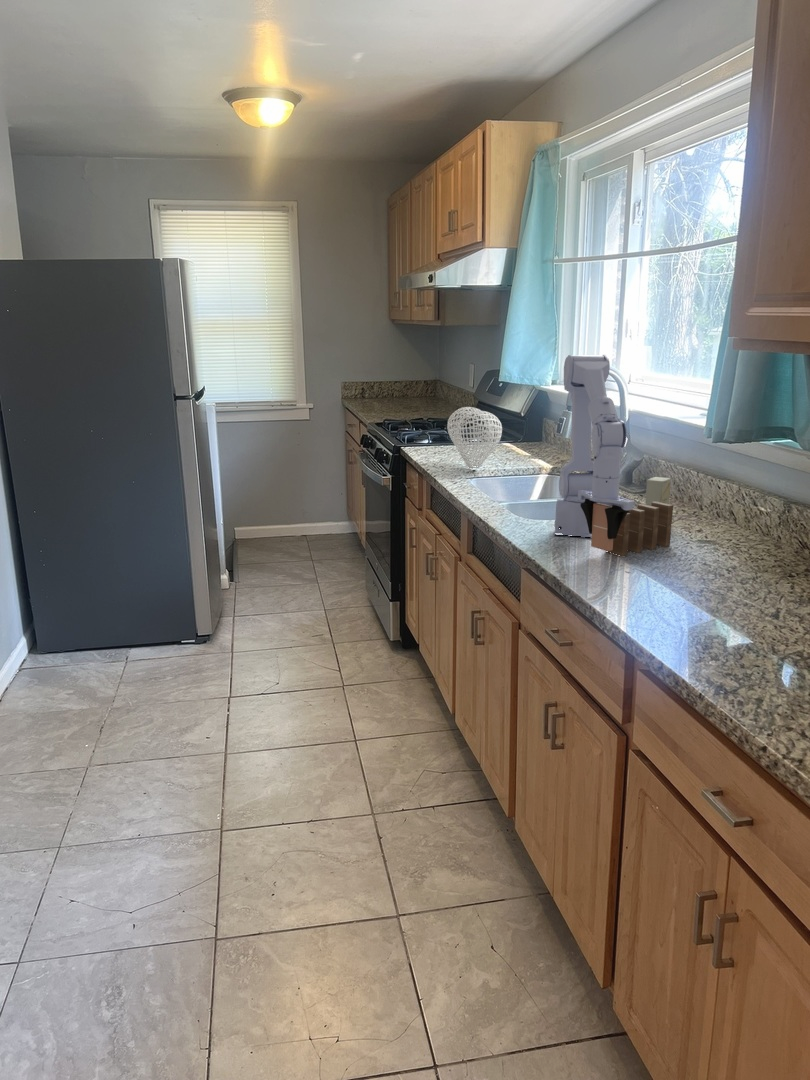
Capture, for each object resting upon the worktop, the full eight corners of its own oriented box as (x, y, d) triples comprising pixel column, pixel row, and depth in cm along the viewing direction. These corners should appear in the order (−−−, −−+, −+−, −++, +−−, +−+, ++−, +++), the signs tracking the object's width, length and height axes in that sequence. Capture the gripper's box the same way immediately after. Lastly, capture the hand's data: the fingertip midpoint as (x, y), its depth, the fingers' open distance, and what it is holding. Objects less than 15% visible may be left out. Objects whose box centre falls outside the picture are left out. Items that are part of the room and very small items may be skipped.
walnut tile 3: (637, 553, 184) (640, 511, 181) (620, 548, 188) (623, 507, 185) (641, 552, 185) (645, 510, 182) (625, 547, 189) (627, 506, 186)
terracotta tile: (607, 551, 178) (610, 507, 175) (590, 546, 182) (593, 503, 179) (612, 550, 179) (615, 506, 176) (595, 545, 183) (598, 502, 180)
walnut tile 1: (665, 547, 189) (668, 505, 186) (648, 542, 193) (651, 502, 190) (669, 545, 190) (673, 505, 187) (652, 541, 194) (656, 501, 191)
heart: (442, 465, 299) (442, 405, 293) (481, 463, 302) (483, 404, 296) (463, 479, 272) (464, 413, 266) (506, 477, 276) (508, 412, 270)
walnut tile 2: (651, 550, 186) (654, 508, 184) (634, 545, 190) (637, 504, 188) (655, 549, 187) (659, 507, 185) (639, 544, 191) (642, 503, 189)
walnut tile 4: (622, 557, 181) (625, 514, 178) (605, 552, 185) (608, 510, 182) (627, 556, 182) (630, 513, 179) (610, 551, 186) (613, 509, 183)
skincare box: (659, 527, 207) (663, 481, 204) (642, 524, 210) (646, 479, 207) (667, 522, 212) (671, 477, 209) (651, 520, 215) (655, 475, 211)
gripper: (569, 473, 180) (566, 531, 183) (619, 483, 168) (614, 545, 171) (591, 470, 183) (588, 527, 187) (641, 479, 172) (637, 540, 175)
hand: (602, 535), depth 179 cm, fingers closed on terracotta tile, 5 cm apart
